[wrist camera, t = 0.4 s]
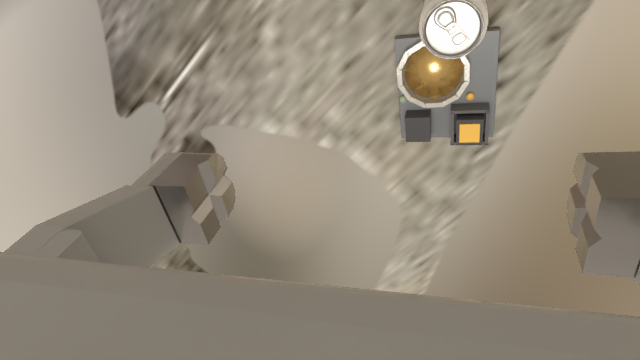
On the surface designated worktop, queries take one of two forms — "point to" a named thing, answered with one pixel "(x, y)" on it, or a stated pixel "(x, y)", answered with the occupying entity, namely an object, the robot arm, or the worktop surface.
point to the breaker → (469, 129)
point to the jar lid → (431, 76)
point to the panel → (474, 99)
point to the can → (453, 26)
